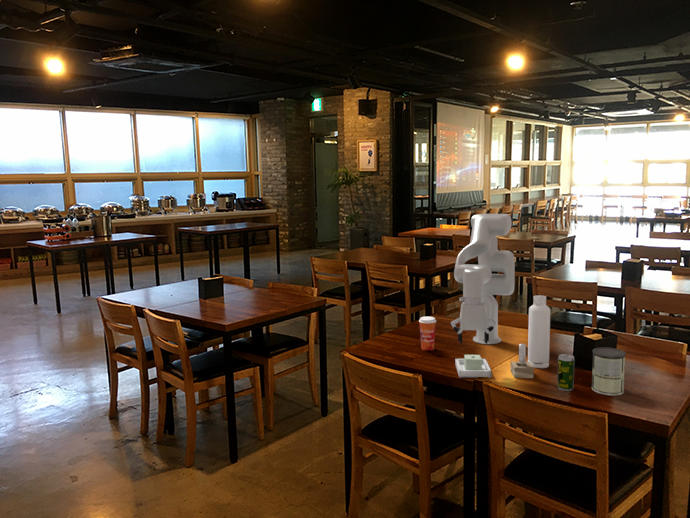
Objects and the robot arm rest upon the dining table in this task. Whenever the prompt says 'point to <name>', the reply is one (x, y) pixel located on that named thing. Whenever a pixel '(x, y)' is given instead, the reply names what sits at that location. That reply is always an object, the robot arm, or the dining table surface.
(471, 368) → the green block
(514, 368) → the beige square block
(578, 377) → the dining table surface
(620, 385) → the coffee can
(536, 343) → the bottle
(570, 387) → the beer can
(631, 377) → the dining table surface
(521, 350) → the rod
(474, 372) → the grey tray
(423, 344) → the paper cup
